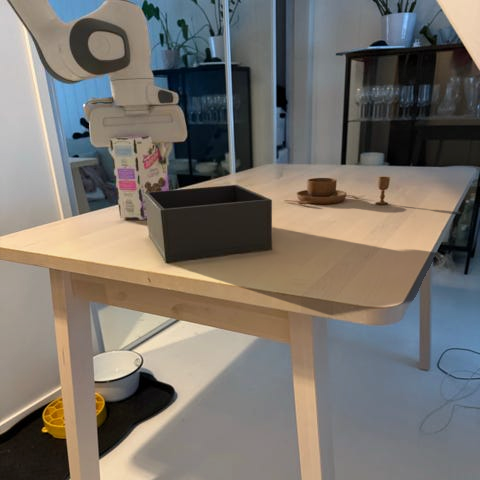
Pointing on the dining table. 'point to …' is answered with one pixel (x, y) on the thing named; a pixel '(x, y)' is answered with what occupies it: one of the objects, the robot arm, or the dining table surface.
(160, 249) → the dark storage bin
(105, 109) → the robot arm
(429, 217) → the dining table surface
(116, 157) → the candy box
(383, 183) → the place setting
